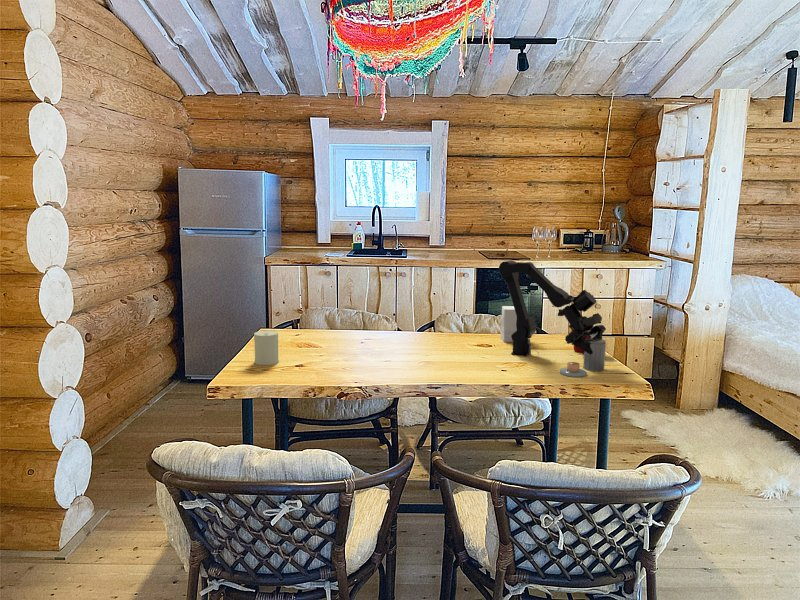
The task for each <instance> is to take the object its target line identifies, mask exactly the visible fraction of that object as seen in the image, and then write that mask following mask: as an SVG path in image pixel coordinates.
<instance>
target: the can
mask: <svg viewBox="0 0 800 600" xmlns="http://www.w3.org/2000/svg"><path fill="white" fill-rule="evenodd" d="M253 337H254V338H253V340H254V364H255V365H257V364H258V366H273V365H272V364H274V365H277V364H279V362H280V361H279V332H278V331H275V330H258V331H255V332H254V333H253ZM276 363H277V364H276Z"/></svg>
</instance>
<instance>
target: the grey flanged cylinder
mask: <svg viewBox="0 0 800 600" xmlns="http://www.w3.org/2000/svg"><path fill="white" fill-rule="evenodd" d="M586 341H587V343H588V345H589V347H590V349H591V350H592V354H591V355H590V354H588V353H587V352H585V351H584V353H583V364H582V365H583V370H585V371H591V372H602V371H603V372H604V370H605V364H606V363H605V361H606V351H607V350H606V348H607V341H606V340H605V339H604V338H602V339H598V338H588V339H586Z"/></svg>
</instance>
